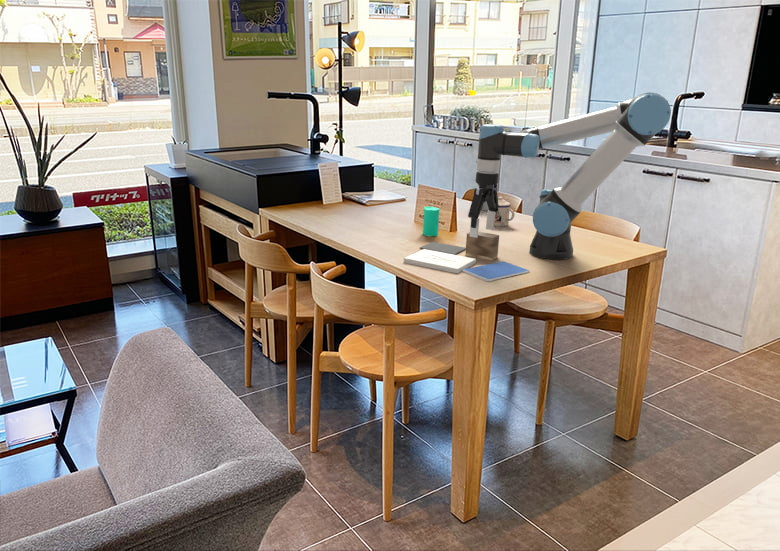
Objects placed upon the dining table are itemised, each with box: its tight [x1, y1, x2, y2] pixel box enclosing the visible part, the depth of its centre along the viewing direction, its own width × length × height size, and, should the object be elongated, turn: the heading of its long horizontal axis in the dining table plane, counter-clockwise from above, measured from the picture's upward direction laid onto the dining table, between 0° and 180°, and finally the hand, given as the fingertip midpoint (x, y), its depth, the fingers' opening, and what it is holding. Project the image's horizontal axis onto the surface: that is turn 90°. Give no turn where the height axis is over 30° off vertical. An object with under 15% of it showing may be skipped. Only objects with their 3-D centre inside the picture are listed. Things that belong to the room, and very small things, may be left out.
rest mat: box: [419, 241, 466, 255], centre depth 229 cm, size 14×10×1 cm
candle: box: [422, 206, 440, 237], centre depth 247 cm, size 6×6×12 cm
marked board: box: [403, 249, 477, 274], centre depth 212 cm, size 20×14×2 cm
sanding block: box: [464, 231, 500, 261], centre depth 220 cm, size 10×5×8 cm, turn 58°
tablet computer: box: [461, 260, 531, 282], centre depth 205 cm, size 19×13×1 cm, turn 126°
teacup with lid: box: [488, 196, 515, 227], centre depth 266 cm, size 12×9×12 cm
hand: (481, 233), depth 219 cm, fingers open, 13 cm apart
